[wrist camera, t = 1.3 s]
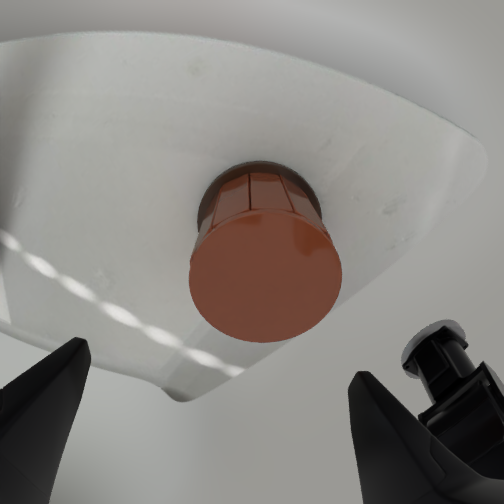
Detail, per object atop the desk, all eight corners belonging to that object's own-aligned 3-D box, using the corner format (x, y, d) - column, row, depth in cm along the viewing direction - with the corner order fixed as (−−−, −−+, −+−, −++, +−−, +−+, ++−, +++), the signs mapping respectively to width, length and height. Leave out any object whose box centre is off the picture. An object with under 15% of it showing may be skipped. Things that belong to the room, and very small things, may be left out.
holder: (342, 205, 20) (373, 243, 15) (273, 290, 23) (281, 345, 18) (241, 136, 18) (239, 150, 13) (177, 237, 21) (157, 283, 16)
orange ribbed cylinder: (333, 211, 20) (371, 265, 13) (272, 287, 22) (282, 360, 16) (244, 151, 18) (243, 179, 12) (187, 239, 20) (163, 303, 14)
